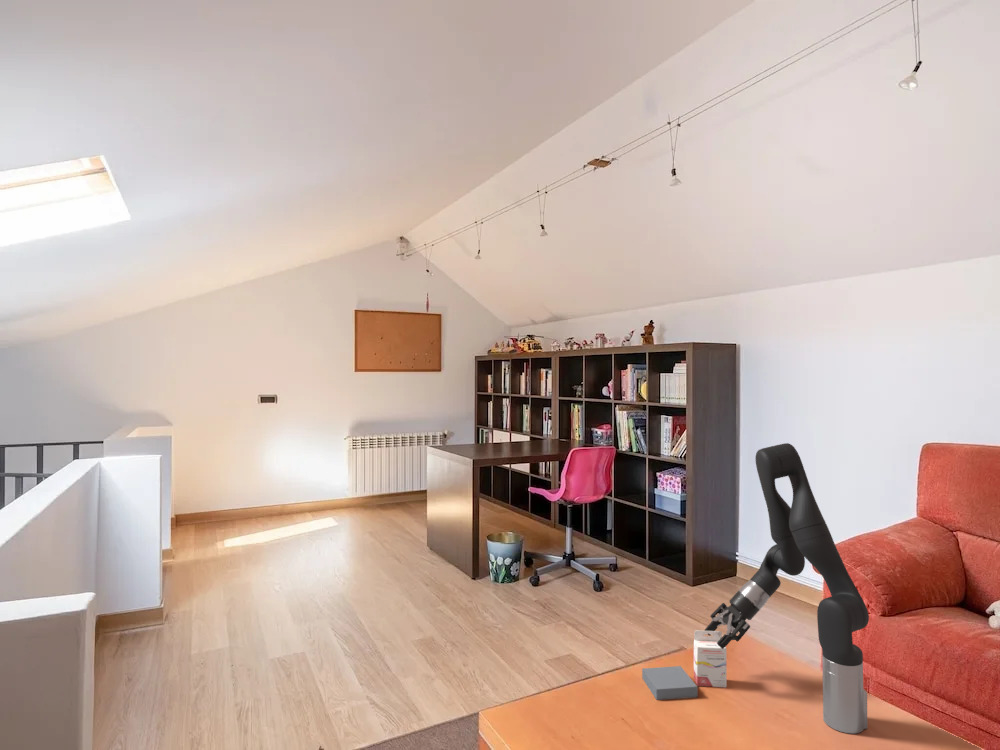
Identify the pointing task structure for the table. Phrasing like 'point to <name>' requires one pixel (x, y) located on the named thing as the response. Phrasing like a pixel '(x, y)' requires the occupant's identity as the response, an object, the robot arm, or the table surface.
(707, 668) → the ink cartridge box
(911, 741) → the table surface
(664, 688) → the slate plate
